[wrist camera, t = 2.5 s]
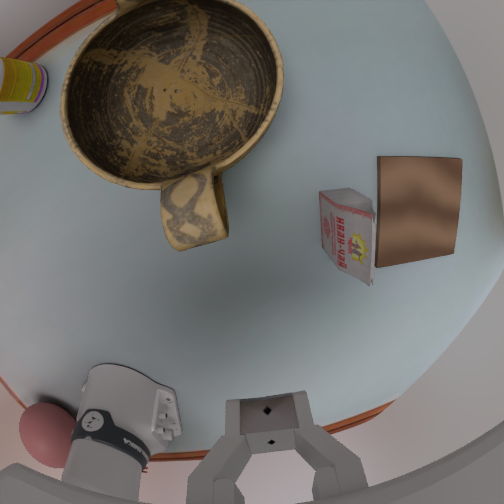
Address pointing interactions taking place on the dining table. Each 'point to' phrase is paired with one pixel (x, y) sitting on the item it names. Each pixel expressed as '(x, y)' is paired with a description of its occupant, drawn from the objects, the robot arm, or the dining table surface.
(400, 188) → the walnut board
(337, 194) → the white red-printed box
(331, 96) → the dining table surface
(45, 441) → the balloon
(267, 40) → the ceramic bowl
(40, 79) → the supplement bottle
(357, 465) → the robot arm
